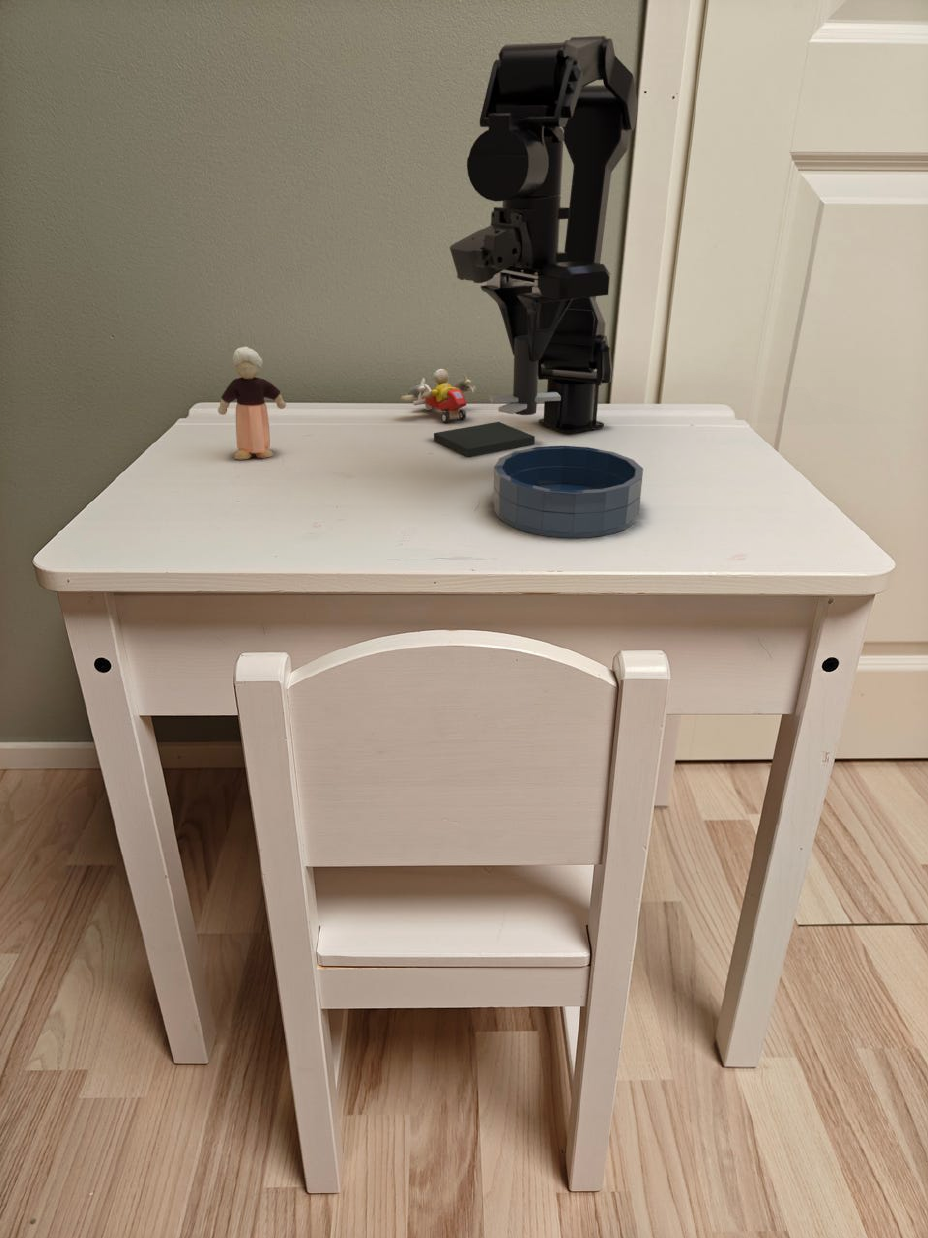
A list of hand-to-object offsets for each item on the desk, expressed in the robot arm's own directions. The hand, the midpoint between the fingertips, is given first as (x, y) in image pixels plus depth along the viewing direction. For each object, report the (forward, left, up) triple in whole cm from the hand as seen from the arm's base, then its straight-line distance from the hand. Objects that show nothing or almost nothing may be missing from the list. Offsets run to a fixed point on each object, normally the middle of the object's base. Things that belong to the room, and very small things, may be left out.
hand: (526, 358), depth 92 cm
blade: (0, 0, -6) cm, 6 cm away
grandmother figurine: (+23, -22, -13) cm, 35 cm away
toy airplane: (-5, -26, -13) cm, 30 cm away
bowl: (+3, +12, -13) cm, 18 cm away
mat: (-3, -12, -13) cm, 18 cm away
